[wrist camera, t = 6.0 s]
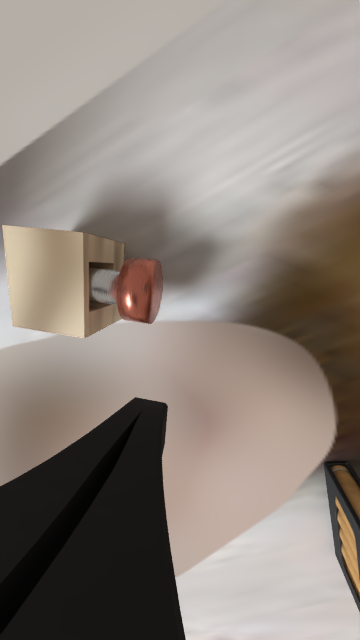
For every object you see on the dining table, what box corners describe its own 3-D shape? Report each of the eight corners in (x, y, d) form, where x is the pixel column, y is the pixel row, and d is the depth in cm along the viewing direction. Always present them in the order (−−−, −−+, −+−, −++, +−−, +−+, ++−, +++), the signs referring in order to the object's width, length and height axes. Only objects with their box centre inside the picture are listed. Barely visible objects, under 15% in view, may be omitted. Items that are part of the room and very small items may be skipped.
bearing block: (68, 310, 18) (12, 326, 13) (65, 237, 17) (2, 225, 12) (121, 318, 18) (84, 338, 13) (124, 243, 16) (83, 232, 11)
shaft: (59, 301, 17) (13, 311, 13) (57, 249, 16) (6, 243, 12) (160, 316, 16) (141, 331, 12) (164, 261, 15) (146, 258, 11)
